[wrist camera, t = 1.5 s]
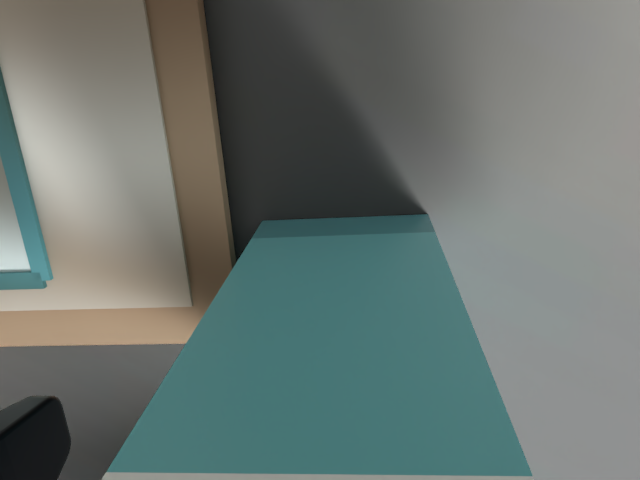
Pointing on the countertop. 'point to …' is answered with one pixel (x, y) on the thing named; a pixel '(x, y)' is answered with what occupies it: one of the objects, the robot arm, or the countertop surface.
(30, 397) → the robot arm
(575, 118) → the countertop surface
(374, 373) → the teal white tall block
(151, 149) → the colouring board
